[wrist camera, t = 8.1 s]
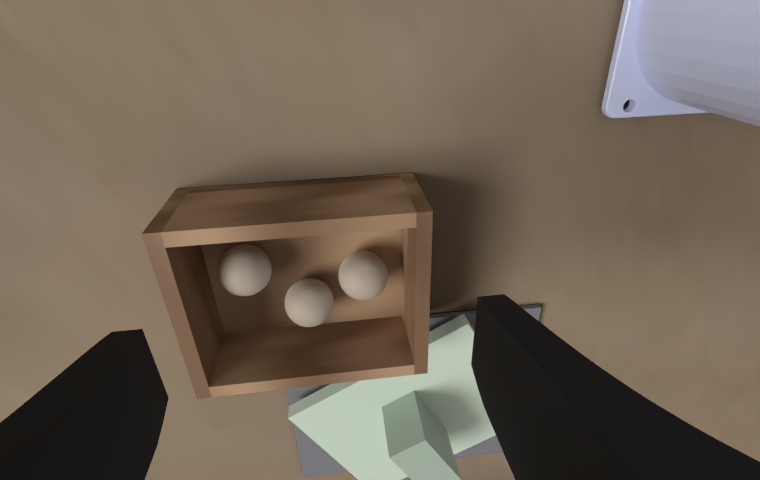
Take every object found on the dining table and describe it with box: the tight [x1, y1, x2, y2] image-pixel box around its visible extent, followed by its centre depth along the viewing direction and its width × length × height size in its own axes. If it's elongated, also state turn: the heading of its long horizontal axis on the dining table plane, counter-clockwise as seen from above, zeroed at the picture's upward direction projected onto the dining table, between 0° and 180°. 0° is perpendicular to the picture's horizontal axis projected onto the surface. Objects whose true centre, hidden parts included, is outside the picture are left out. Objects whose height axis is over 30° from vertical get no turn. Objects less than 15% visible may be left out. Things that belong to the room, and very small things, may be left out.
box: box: [142, 173, 433, 399], centre depth 19 cm, size 10×8×4 cm
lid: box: [288, 314, 496, 480], centre depth 24 cm, size 11×9×4 cm
